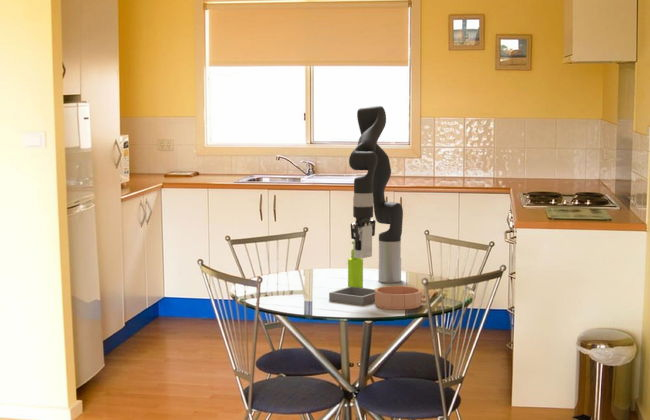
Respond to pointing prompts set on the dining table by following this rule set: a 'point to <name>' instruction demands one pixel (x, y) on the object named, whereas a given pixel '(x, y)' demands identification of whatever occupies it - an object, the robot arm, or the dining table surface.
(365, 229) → the skincare box
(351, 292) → the parts tray
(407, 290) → the bowl
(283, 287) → the dining table surface
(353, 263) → the soap dispenser
